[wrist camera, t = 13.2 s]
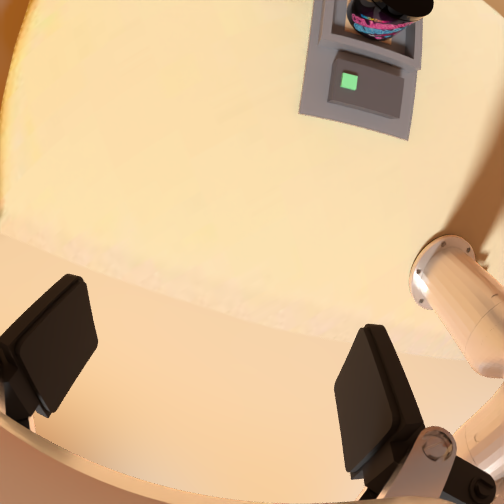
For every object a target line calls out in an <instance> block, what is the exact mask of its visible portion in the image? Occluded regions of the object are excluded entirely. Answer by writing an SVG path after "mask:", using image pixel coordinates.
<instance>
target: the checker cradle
mask: <svg viewBox="0 0 504 504" xmlns="http://www.w3.org/2000/svg"><path fill="white" fill-rule="evenodd" d="M350 1H351V0H314V2H313V10H312V18H311V26H310V34H309V42H308V49H307V57H306V64H305V71H304V78H303V85H302V92H301V99H300V106H299V113H298V114H302V115H307V116H312V117H317V118H322V119H327V120H332V121H336V122H340V123H345V124H349V125H353V126H357V127H361V128H365V129H368V130H372V131H376V132H379V133H383V134H386V135H390V136H393V137H396V138H399V139H402V140H407V141H408V138H409V132H410V126H411V120H412V113H413V105H414V97H415V88H416V78H417V71H418V70H421V56H422V30H423V18H422V19H420V20H419V21H416V22H415V23H413V24H412V25H410V26H409V27H407V28H406V29H404V30H403V31H401V32H400V33H398V34H397V35H395V36H394V37H392V38H391V39H389V40H385V41H375V40H371V39H368V38H366V37H364V36H362V35H360V34H359V33H358V32H357V31H356V30H355V29H354V28H353V27H352V26H351V24H350V23H349V21H348V18H347V7H348V4H349V3H350Z"/></svg>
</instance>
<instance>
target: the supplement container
mask: <svg viewBox="0 0 504 504" xmlns="http://www.w3.org/2000/svg"><path fill="white" fill-rule="evenodd" d="M433 5H434V2H433V0H351V1H350V3H349V4H348V7H347V18H348V21H349V23H350V24H351V26H352V27H353V28H354V29H355V30H356V31H357V32H358V33H359V34H360V35H362V36H364V37H366V38H368V39H371V40H375V41H385V40H389V39H391V38H392V37H394V36H395V35H397V34H398V33H400V32H401V31H403V30H404V29H406V28H407V27H409V26H410V25H412V24H413V23H415V22H416V21H419V20H420V19H422V18H423V17H425V16H426V15H428V14H429V13H430V12H431V11H432V9H433Z"/></svg>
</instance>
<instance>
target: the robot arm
mask: <svg viewBox="0 0 504 504" xmlns="http://www.w3.org/2000/svg"><path fill="white" fill-rule="evenodd" d="M409 288H410V292H411V295H412V297H413V299H414V300H415V302H416V303H417V304H418V305H419V306H421V307H422V308H424V309H427V310H434V311H435V313H436V314H437V315H438V317H439V318H440V320H441V321H442V323H443V324H444V326H445V327H446V329H447V330H448V332H449V333H450V335H451V336H452V338H453V339H454V341H455V342H456V344H457V345H458V347H459V348H460V350H461V352H462V353H463V355H464V356H465V358H466V359H467V361H468V363H469V364H470V366H471V367H472V369H473V370H474V371H476V372H477V373H478V374H480V375H482V376H485V377H489V378H504V287H503V286H502V285H501V284H500V283H499V282H498V281H497V280H496V279H495V278H494V277H493V276H492V275H490V274H489V273H488V272H487V271H486V270H485V269H484V268H483V267H481V266H480V265H479V264H478V263H477V262H476V261H475V254H474V251H473V249H472V247H471V245H470V244H469V243H468V242H467V241H466V240H464V239H463V238H461V237H460V236H456V235H446V236H442V237H439V238H437V239H435V240H434V241H432V242H431V243H429V244H428V245H427V246H426V247H425V248H424V249H423V250H422V251H421V253H420V254H419V255H418V257H417V259H416V260H415V262H414V264H413V267H412V269H411V273H410V277H409ZM97 344H98V339H97V334H96V330H95V326H94V321H93V316H92V312H91V306H90V301H89V296H88V290H87V285H86V283H85V282H84V281H83V279H82V278H81V277H80V276H76V275H72V274H66V275H65V276H63V277H62V278H61V279H60V280H59V281H58V282H56V283H55V284H54V285H53V286H52V287H51V288H50V289H49V290H48V291H47V292H45V293H44V294H43V295H42V296H41V297H40V298H39V299H38V300H37V301H36V302H35V303H33V304H32V305H31V307H29V308H28V309H27V310H26V311H25V312H24V313H23V314H22V315H21V316H20V317H19V318H18V319H17V320H16V321H15V322H14V323H13V324H12V325H11V326H10V327H9V328H8V329H7V330H6V331H5V332H4V333H3V334H2V335H1V336H0V504H287V503H264V502H251V501H241V500H233V499H226V498H219V497H212V496H207V495H201V494H196V493H191V492H186V491H182V490H177V489H173V488H169V487H165V486H161V485H158V484H154V483H151V482H147V481H144V480H140V479H138V478H134V477H131V476H128V475H126V474H122V473H120V472H117V471H114V470H112V469H109V468H106V467H104V466H101V465H99V464H96V463H94V462H92V461H89V460H87V459H85V458H82V457H80V456H78V455H76V454H74V453H71V452H69V451H68V450H66V449H64V448H62V447H60V446H58V445H56V444H54V443H52V442H50V441H48V440H46V439H45V438H43V437H41V436H39V435H38V434H36V430H35V424H34V419H33V413H34V411H35V410H36V411H37V413H39V414H41V415H43V416H45V417H46V418H49V416H50V415H51V413H54V412H55V411H56V410H57V409H58V407H59V405H60V404H61V402H62V401H63V399H64V397H65V396H66V394H67V392H68V391H69V389H70V388H71V386H72V384H73V383H74V381H75V380H76V378H77V377H78V375H79V374H80V372H81V370H82V369H83V368H84V366H85V364H86V363H87V361H88V360H89V359H90V357H91V355H92V354H93V352H94V351H95V350H96V348H97ZM334 392H335V397H336V398H335V399H336V404H337V411H338V418H339V424H340V431H341V438H342V445H343V453H344V461H345V468H346V471H347V472H350V474H351V479H352V480H353V479H362V478H364V483H365V488H364V489H363V490H362V492H361V493H360V494H359V496H358V497H357V498H356V500H355V501H352V502H340V503H339V502H338V503H317V504H504V382H503V384H502V386H501V387H500V388H499V389H498V390H497V391H496V392H495V394H494V396H493V397H492V398H491V399H490V400H489V401H488V402H487V403H486V404H485V405H484V406H483V407H481V408H480V409H479V410H478V411H477V412H476V413H475V414H474V415H473V416H472V417H471V418H470V419H468V420H467V421H466V422H465V423H464V424H463V425H462V426H461V427H460V428H459V429H458V430H457V431H456V432H455V433H454V434H453V436H452V435H451V434H450V432H448V431H447V430H445V429H444V428H441V427H437V426H431V427H427V428H425V425H424V422H423V419H422V417H421V414H420V411H419V408H418V406H417V403H416V400H415V398H414V395H413V392H412V390H411V387H410V385H409V382H408V380H407V378H406V375H405V372H404V370H403V368H402V365H401V363H400V361H399V358H398V356H397V354H396V351H395V349H394V347H393V344H392V342H391V340H390V338H389V336H388V333H387V331H386V329H385V327H384V326H383V325H376V324H366V325H365V327H364V328H360V329H359V331H358V333H357V336H356V338H355V340H354V343H353V345H352V347H351V350H350V352H349V354H348V356H347V358H346V361H345V363H344V365H343V367H342V369H341V371H340V374H339V376H338V378H337V379H336V382H335V386H334ZM312 504H316V503H312Z"/></svg>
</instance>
